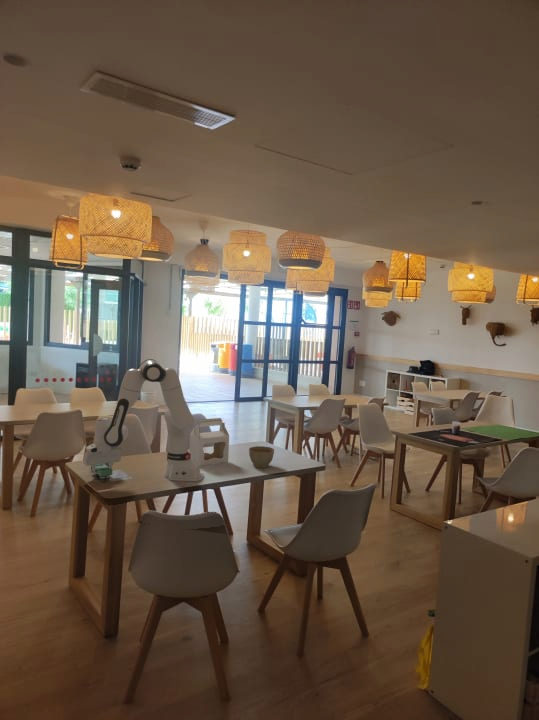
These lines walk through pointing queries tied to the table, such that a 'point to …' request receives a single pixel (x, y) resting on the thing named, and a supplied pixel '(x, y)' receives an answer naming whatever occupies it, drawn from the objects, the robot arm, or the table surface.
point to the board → (103, 470)
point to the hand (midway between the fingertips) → (102, 471)
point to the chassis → (113, 476)
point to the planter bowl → (261, 456)
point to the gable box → (209, 437)
